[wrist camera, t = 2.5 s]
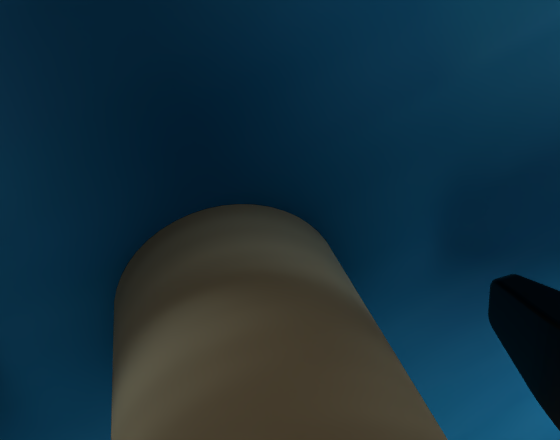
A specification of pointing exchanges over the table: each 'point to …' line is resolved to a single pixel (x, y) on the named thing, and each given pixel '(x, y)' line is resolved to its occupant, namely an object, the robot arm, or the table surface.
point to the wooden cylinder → (252, 339)
